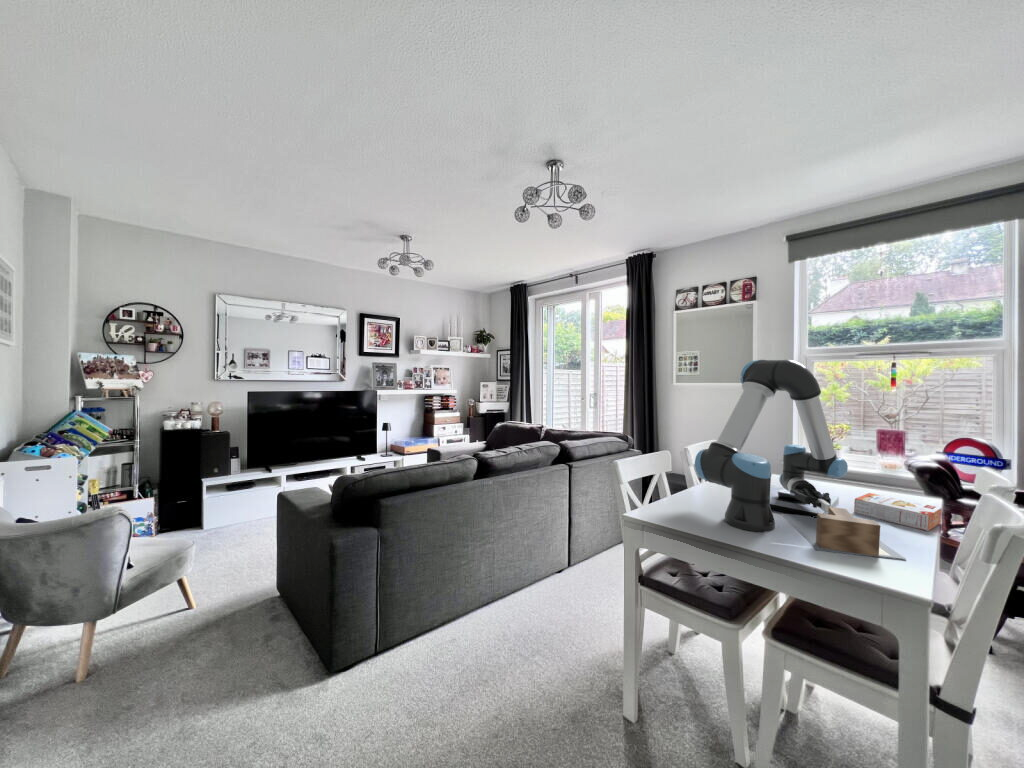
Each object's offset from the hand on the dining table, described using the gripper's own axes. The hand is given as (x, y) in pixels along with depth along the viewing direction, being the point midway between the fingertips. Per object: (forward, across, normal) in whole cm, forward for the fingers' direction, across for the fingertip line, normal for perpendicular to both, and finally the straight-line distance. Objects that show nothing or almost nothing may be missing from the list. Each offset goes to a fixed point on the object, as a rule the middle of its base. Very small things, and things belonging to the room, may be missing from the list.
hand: (828, 508), depth 144 cm
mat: (+6, 0, -7) cm, 9 cm away
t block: (+15, +2, -6) cm, 16 cm away
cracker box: (-26, -20, -4) cm, 33 cm away
